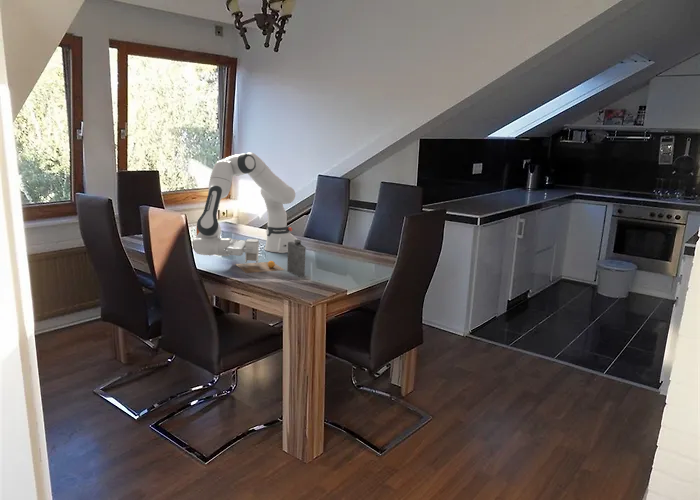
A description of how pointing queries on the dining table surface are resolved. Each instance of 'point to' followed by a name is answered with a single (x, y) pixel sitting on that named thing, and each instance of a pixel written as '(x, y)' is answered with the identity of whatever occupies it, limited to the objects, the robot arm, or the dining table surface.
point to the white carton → (253, 255)
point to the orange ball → (271, 264)
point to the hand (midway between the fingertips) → (253, 248)
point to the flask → (296, 258)
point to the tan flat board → (258, 267)
